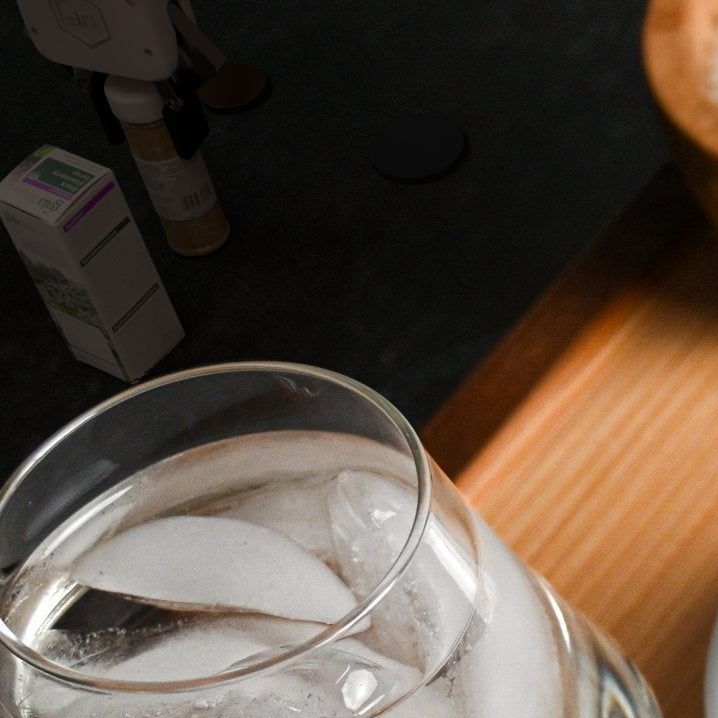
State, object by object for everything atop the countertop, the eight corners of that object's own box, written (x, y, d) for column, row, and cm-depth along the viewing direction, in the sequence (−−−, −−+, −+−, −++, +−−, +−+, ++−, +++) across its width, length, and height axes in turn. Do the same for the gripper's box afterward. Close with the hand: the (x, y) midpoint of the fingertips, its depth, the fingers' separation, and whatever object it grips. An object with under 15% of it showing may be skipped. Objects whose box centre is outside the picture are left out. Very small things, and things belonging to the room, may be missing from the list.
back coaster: (211, 122, 144) (208, 115, 144) (191, 83, 147) (188, 76, 147) (277, 100, 145) (274, 93, 145) (256, 61, 148) (254, 54, 148)
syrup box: (189, 335, 132) (116, 163, 120) (133, 391, 130) (52, 221, 118) (126, 308, 134) (48, 136, 122) (69, 362, 132) (-17, 192, 119)
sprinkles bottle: (218, 208, 139) (158, 47, 128) (241, 244, 137) (181, 84, 126) (159, 231, 138) (92, 71, 127) (180, 268, 136) (114, 109, 125)
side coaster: (389, 196, 139) (387, 189, 139) (357, 140, 143) (355, 133, 142) (479, 164, 141) (478, 157, 140) (446, 109, 144) (444, 102, 143)
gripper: (-94, -98, 115) (24, 152, 130) (154, -54, 111) (246, 198, 127) (-27, -169, 119) (80, 83, 134) (216, -128, 115) (297, 126, 130)
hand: (160, 136), depth 130 cm, fingers closed on sprinkles bottle, 4 cm apart
